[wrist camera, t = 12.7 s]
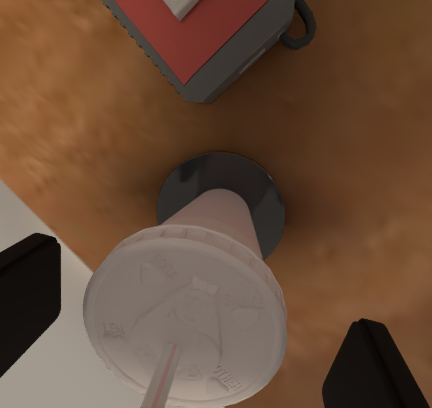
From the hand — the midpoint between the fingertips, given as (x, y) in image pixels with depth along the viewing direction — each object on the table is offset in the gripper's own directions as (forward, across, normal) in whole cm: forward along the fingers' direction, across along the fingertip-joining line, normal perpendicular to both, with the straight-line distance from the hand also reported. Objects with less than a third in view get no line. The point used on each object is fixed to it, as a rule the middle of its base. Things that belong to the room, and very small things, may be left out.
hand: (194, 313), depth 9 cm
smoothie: (+9, 0, 0) cm, 9 cm away
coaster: (+10, 0, +1) cm, 10 cm away
